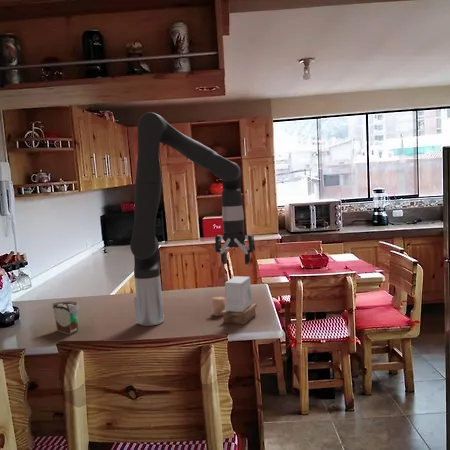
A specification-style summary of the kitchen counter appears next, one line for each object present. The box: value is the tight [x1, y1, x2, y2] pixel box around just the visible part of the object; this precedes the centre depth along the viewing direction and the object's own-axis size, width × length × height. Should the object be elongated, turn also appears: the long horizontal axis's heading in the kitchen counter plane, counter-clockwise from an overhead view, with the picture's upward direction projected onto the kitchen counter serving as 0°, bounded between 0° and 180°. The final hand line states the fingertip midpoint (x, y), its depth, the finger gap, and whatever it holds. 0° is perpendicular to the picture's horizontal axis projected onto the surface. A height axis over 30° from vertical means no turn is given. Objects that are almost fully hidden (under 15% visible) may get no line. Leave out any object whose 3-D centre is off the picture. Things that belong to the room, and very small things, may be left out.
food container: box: [52, 300, 80, 336], centre depth 175 cm, size 12×6×10 cm, turn 48°
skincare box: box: [224, 275, 252, 312], centre depth 174 cm, size 10×6×10 cm, turn 159°
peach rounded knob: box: [211, 296, 226, 317], centre depth 182 cm, size 5×5×6 cm
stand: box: [221, 303, 258, 325], centre depth 175 cm, size 9×12×4 cm
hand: (235, 264), depth 173 cm, fingers open, 8 cm apart
